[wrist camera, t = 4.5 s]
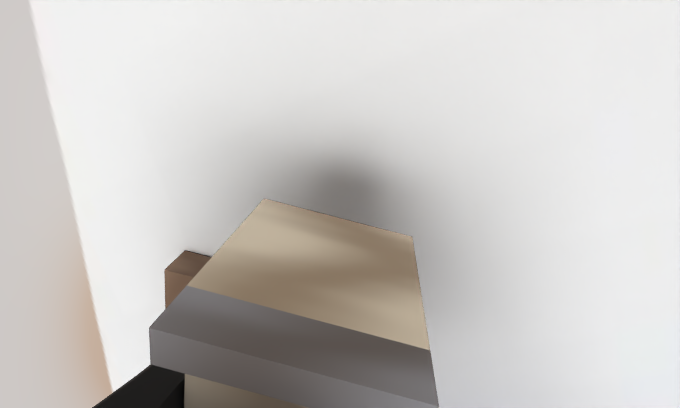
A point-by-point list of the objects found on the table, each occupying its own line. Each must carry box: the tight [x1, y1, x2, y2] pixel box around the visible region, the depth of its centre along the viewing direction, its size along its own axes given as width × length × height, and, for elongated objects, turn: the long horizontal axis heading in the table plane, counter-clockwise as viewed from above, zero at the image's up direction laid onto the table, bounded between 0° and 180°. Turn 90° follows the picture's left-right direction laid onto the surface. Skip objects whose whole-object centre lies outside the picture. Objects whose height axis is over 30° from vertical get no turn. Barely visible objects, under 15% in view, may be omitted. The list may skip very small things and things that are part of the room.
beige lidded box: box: [149, 199, 439, 408], centre depth 9 cm, size 4×8×6 cm, turn 167°
